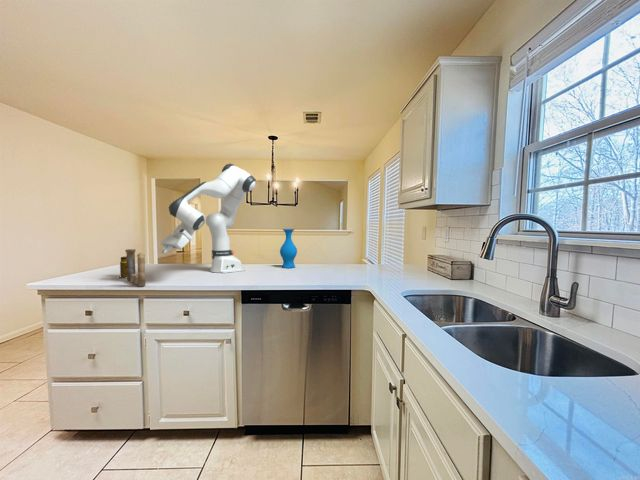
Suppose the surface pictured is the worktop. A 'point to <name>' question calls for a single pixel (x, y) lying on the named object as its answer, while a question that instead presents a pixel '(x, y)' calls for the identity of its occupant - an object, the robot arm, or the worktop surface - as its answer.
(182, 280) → the worktop surface
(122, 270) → the condiment
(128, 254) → the gate post
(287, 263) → the vase
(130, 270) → the gate
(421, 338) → the worktop surface
